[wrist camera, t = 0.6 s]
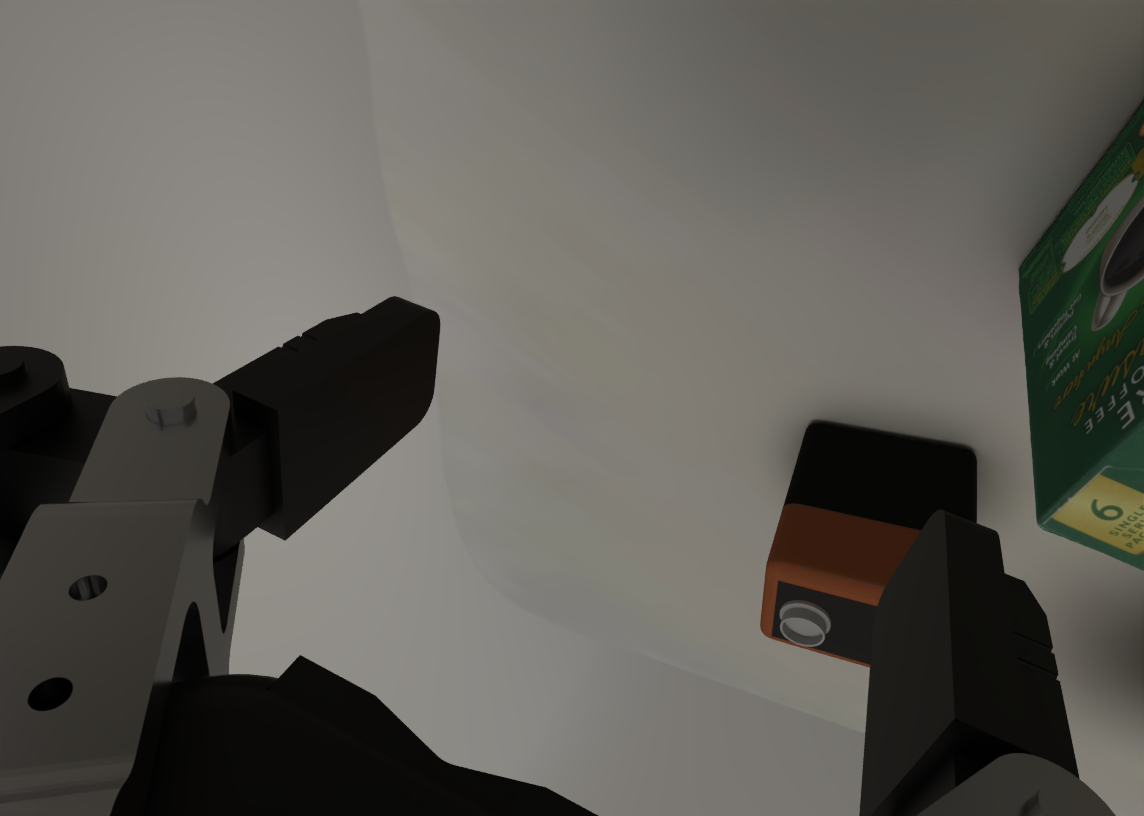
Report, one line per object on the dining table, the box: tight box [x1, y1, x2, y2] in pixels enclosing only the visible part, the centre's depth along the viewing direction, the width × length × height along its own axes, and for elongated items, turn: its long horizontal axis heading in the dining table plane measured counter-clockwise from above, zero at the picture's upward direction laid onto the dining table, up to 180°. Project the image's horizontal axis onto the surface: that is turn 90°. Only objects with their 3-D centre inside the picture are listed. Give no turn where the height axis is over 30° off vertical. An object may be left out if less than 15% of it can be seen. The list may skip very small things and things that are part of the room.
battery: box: [760, 423, 977, 667], centre depth 28 cm, size 4×7×10 cm, turn 96°
